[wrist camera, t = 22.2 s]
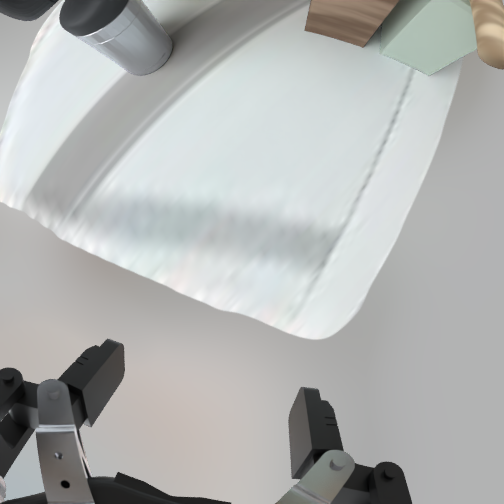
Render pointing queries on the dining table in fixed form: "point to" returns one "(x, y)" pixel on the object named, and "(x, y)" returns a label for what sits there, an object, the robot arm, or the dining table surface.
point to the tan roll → (489, 31)
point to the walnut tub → (348, 18)
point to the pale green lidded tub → (428, 33)
